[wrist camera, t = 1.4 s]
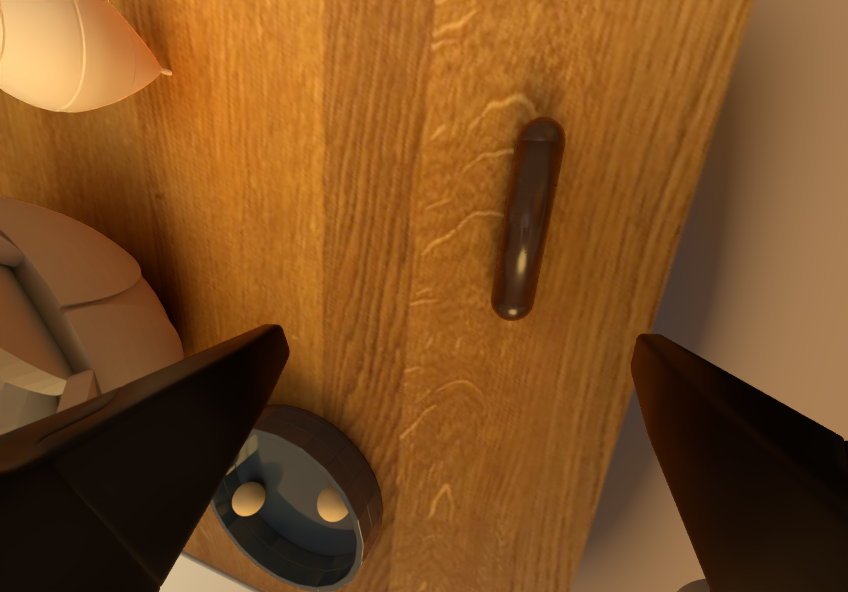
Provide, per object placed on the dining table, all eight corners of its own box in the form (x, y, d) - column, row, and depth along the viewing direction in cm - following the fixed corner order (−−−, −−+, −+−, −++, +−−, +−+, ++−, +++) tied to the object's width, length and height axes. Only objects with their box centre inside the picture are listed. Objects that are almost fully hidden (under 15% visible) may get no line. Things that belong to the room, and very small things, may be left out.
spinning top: (161, -18, 24) (-163, -191, 13) (229, 74, 24) (-37, -22, 13) (120, 72, 27) (-168, -7, 16) (180, 153, 27) (-66, 128, 17)
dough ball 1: (276, 491, 34) (253, 515, 31) (264, 503, 35) (241, 528, 32) (256, 470, 34) (231, 492, 31) (244, 483, 35) (220, 505, 32)
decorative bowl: (299, 263, 26) (29, 339, 13) (222, 500, 38) (37, 670, 25) (30, 93, 31) (-371, 17, 18) (35, 348, 43) (-205, 420, 30)
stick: (529, 316, 22) (529, 330, 20) (490, 309, 22) (485, 322, 20) (567, 122, 18) (572, 113, 16) (520, 120, 19) (519, 111, 17)
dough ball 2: (364, 493, 30) (346, 521, 27) (346, 507, 31) (328, 535, 28) (340, 469, 30) (321, 495, 27) (324, 484, 31) (304, 509, 29)
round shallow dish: (419, 510, 29) (403, 549, 26) (321, 577, 36) (298, 614, 33) (282, 370, 30) (250, 391, 27) (212, 461, 37) (180, 486, 34)
